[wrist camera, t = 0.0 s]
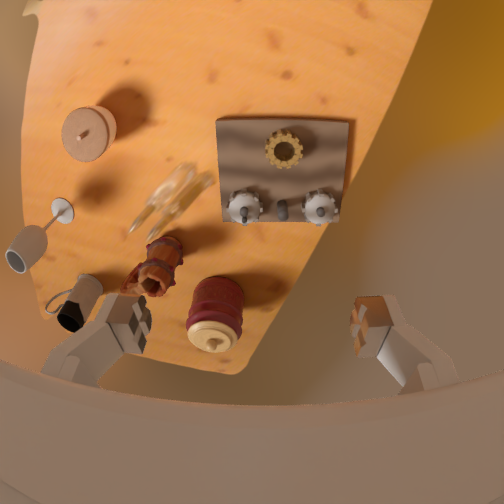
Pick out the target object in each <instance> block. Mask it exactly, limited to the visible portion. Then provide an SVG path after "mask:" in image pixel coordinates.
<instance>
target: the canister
mask: <svg viewBox="0 0 504 504" xmlns="http://www.w3.org/2000/svg"><path fill="white" fill-rule="evenodd" d="M243 306H244V295H243V291H242V289H241V288H240V287H239V285H238V284H236V283H235V282H234V281H232V280H230V279H227V278H223V277H210V278H207V279H204V280H202V281H201V282H200V283H199V284H198V285H197V287H196V288H195V290H194V294H193V301H192V305H191V308H190V310H189V318H188V319H187V322H186V329H187V331H188V338H189V340H190V341H191V342H192V343H193V344H194V345H195V346H197V347H198V348H200V349H202V350H205V351H208V352H223V351H227V350H230V349H232V348H233V347H234V346H235V345H236V343H237V340H238V339H239V338H240V336H241V334H242V328H241V325H242V323H243V317H242V313H243Z"/></svg>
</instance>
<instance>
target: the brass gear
mask: <svg viewBox="0 0 504 504" xmlns="http://www.w3.org/2000/svg"><path fill="white" fill-rule="evenodd" d="M276 131H277V133H275V134H273V133H271V134H270V135H269V140H266V142H265V154H266V158H269V163H270V164H272V165H273V164H276V165H277V168H280V169H282V167H286V169H289V168H291V165H293V164H294V165H295V166H296V165H297V164H298V163H299V161H298V159H299V158H302V156H303V153H302V151H301V150H303V146H302V144H301V141H300V140H299V138H298V136H297V135H296V134H295V133H294V134H291V131H290V130H287V129H286V130H285V132H282V131H281V129H279V130H276ZM280 142H289V143H291V144H292V145H293V149H292V151H291V152H290V153H289V154H287V155H279V154H277V153H276V152H275V151H274V148H275V146H276V144H278V143H280Z"/></svg>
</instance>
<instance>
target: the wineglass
mask: <svg viewBox="0 0 504 504" xmlns="http://www.w3.org/2000/svg"><path fill="white" fill-rule="evenodd" d="M51 208H52V213H53V215H54V218H53V219H52V220H51V221H50V222H49V223H48V224H47V225H46V226H45V227H44V228H41V227H39V226H36V225H30V226H27V227H25V228H24V229H22V230H21V231H20V232H19V234H18V235H17V236H16V238H15V239H14V240H13V242H12V244H11V245H10V247H9V248H8V250H7V252H6V259H7V262H8V263H9V265H10V266H11V268H13V269H14V270H15V271H16V272H18V273H24V272H26V271H27V270H28V269H29V268H31V267H32V266H33V265H34V264H35V263H36V262H37V261H38V260H39V259H40V258H41V257H42V256H43V254H44V253H45V251H46V249H47V245H48V240H47V235H46V230H47V228H48V227H49V226H50V225H51V224H52V223H53V222H54V221H55V220H56V219H57V220H58V221H59V222H61V223H65V224H67V223H70V222H71V221H72V220H73V217H74V211H73V208H72V206H71V205H70V203H69V202H68V201H67V200H65V199H63V198H57V199H55V200H54V201H53V203H52V206H51Z"/></svg>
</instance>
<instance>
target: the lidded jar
mask: <svg viewBox="0 0 504 504" xmlns="http://www.w3.org/2000/svg"><path fill="white" fill-rule="evenodd" d="M116 131H117V125H116V121H115V118H114V116H113V115H112V113H111V112H110V111H109V110H107V109H106V108H104V107H101V106H94V105H93V106H86V107H82V108H79V109H76V110H74V111H73V112H71V113H70V114H69V115H68V116H67V118H66V119H65V121H64V124H63V127H62V141H63V144H64V147H65V149H66V151H67V152H68V153H69V154H70V155H71V156H72V157H73V158H74V159H76V160H78V161H81V162H90V161H93V160H96V159H97V158H99V157H100V156H101V155H102V154H103V153H104V152H105V151H107V149H108V148H109V147H110V146H111V144H112V143H113V141H114V139H115V136H116Z"/></svg>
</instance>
